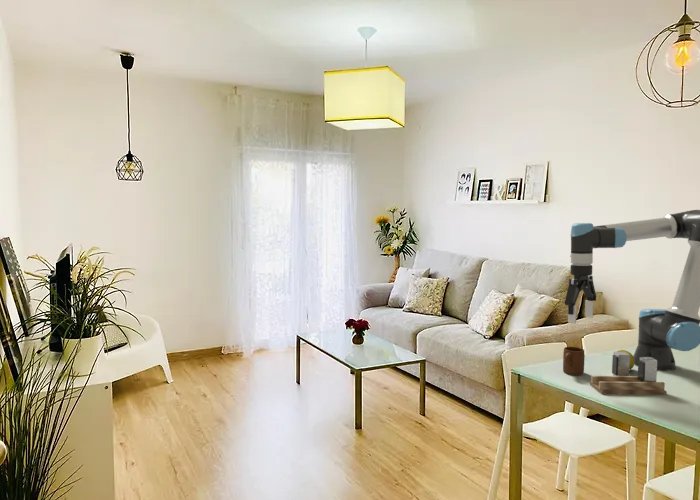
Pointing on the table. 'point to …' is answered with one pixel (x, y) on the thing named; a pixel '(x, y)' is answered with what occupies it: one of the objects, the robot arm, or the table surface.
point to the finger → (647, 369)
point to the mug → (573, 360)
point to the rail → (626, 385)
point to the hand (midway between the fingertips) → (580, 320)
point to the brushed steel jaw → (620, 364)
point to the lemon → (630, 359)
